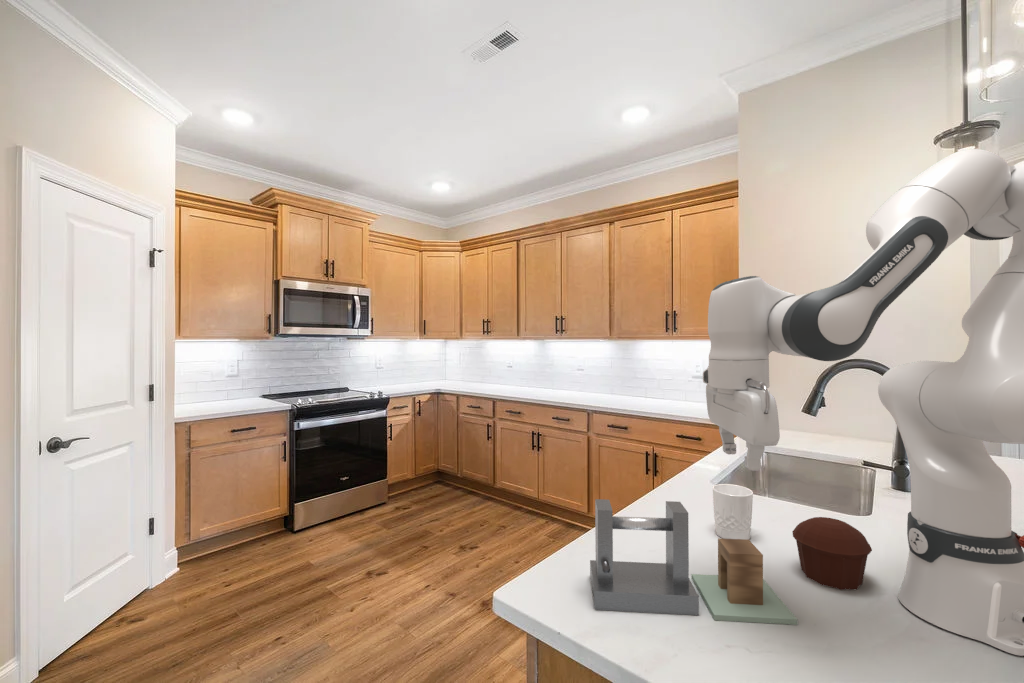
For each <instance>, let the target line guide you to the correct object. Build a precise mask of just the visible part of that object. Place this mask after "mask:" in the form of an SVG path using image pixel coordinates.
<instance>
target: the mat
mask: <svg viewBox="0 0 1024 683" xmlns="http://www.w3.org/2000/svg"><path fill="white" fill-rule="evenodd" d="M690 575H691V579H690V580H691V581H692V583H693V584H694V585H695V587H696V588H695V589H697V591H698V593H699V595H700V597H701V599H702V601H703V602H704V603H705V606H706V607H707V609H708V611H709V614H710V615H711V616H712V619H713V620H714V621H719V622H720V621H725V622H741V623H743V622H744V623H756V624H758V623H759V624H773V625H774V624H777V625H796V626H798V625H799V624H798V620H799V619H798V618H797V617H796V616H795V615H794V613H793V612H792V611H791V609H789V607H788V606H787V605H786V604H785V602H784V601H783V600H782V599H781V598H780V597H779V596H778V595H777V593H776V592H775V591H774V590H773V589H772V587H771V586H770V585H769V584H768V583H767V582H766V580H765V579H764V578H763V605H749V604H730V603H729V601H728V600H727V589H720V587H719V586H718V574H700V573H699V574H697V573H691V574H690Z"/></svg>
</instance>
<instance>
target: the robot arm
mask: <svg viewBox="0 0 1024 683" xmlns="http://www.w3.org/2000/svg"><path fill="white" fill-rule="evenodd" d="M865 226H866V227H865V236H866V240H867V242H868V244H869V246H870V247H871V248H872V250H873V251H872V252H871V253H870V254H869V255H868V256H867V257H865V259H864V260H863V261H861V262H860V263H859V264H858V265H857V266H856V267H855V268H854V269H853V270H852V271H851V272H850V273H849V274H847V276H846V277H845V278H844V279H842V280H841V281H840V282H837V283H835V284H833V285H831V286H829V287H825V288H820V289H819V290H815V291H812V292H808V293H803V294H795V293H792V292H788V291H785V290H783V289H781V288H778V287H776V286H774V285H771V283H768V282H766V281H765V280H764V279H763V278H762V277H761V276H757V275H749V276H744V277H739V278H735V279H730V280H728V281H727V280H726V281H724V282H721V283H719V284H718V285H716V286H715V287H714V288H713V289H711V292H710V295H709V300H708V307H707V308H708V309H707V312H708V313H707V334H708V337H709V341H710V349H709V353H708V366H707V368H706V369H705V370H703V372H702V382H703V383H704V384H706V386H705V397H706V398H705V399H706V408H707V409H706V410H707V416H708V419H709V420H710V422H711V423H713V424H714V425H715V426H718V432H719V434H720V438H721V442H722V452H723V453H724V454H727V455H736V454H737V443H736V442H735V437H738V438H740V439H742V440H743V441H745V447H746V448H747V451H746V456H744V466H745V468H747V469H748V470H750V471H760V470H761V468H762V465H761V464H762V462H761V459H762V457H763V455H764V452H765V449H766V448H765V447H775V446H777V445H778V444H779V441H780V438H781V437H780V423H779V413H778V405H777V400H776V398H775V397H774V395H773V394H772V393H771V392H770V390H768V389H769V388H770V356H769V355H770V354H771V352H774V353H778V354H781V355H786V356H788V355H789V356H794V357H795V356H796V357H804V358H810V359H813V360H816V361H821V362H835V361H841V360H844V359H847V358H849V357H851V356H852V355H854V354H855V353H857V352H858V351H859V350H860V349H861V348H862V347H863V346H864V345H865V344H866V343H867V341H868V339H869V337H870V336H871V333H872V332H873V330H874V328H875V325H876V323H877V322H878V321H879V319H880V318H881V316H882V314H883V313H884V311H885V310H887V308H888V307H889V306H891V304H892V303H893V302H894V301H896V299H897V298H898V297H900V295H901V294H903V293H904V292H905V291H906V290H907V289H908V288H909V287H910V286H911V285H912V284H913V283H914V282H915V281H916V280H917V279H918V278H919V277H920V276H921V275H923V273H924V272H926V271H927V269H929V267H931V265H932V264H933V263H935V261H936V260H937V259H938V258H939V257H940V255H941V254H942V253H943V252H944V251H945V250H946V249H948V248H949V247H950V246H952V245H953V243H955V242H956V241H957V240H958V239H960V238H961V237H962V236H963V235H964V236H966V237H968V238H970V239H972V240H978V241H1000V240H1001V241H1002V240H1006V239H1009V238H1011V237H1012V246H1011V249H1010V252H1009V254H1008V256H1007V258H1006V260H1005V261H1004V262H1003V263H1002V264H1001V265H1000V267H998V269H997V271H995V273H994V274H993V276H992V277H991V278H990V279H989V281H988V282H987V283H986V285H985V286H984V287H983V289H982V290H981V291H980V293H979V294H978V296H977V297H976V298H975V299H974V301H973V303H972V304H971V305H970V306H969V307H968V309H967V310H966V312H965V313H964V315H963V316H962V319H961V327H962V329H963V332H964V333H965V335H967V337H968V341H967V346H966V349H965V351H964V352H963V354H962V355H961V357H959V359H957V360H956V361H954V362H953V361H952V362H951V361H936V360H920V361H919V360H918V361H912V362H907V363H902V364H898V365H896V366H895V365H894V366H893V367H891V368H889V369H888V370H887V371H886V372H885V373H883V375H882V376H881V378H880V380H879V383H878V387H877V391H878V392H877V393H878V397H879V400H880V402H881V404H882V406H884V408H885V409H886V410H887V411H888V412H889V414H890V415H891V416H892V418H893V420H894V421H895V424H896V426H897V429H898V431H899V434H900V437H901V440H902V442H903V447H904V449H905V452H906V456H907V462H908V466H909V474H910V476H909V477H910V478H909V479H910V511H909V512H908V513H907V521H906V522H907V524H906V526H907V527H906V528H907V529H906V535H907V543H908V547H909V550H908V556H907V565H906V570H905V573H904V576H903V580H902V583H901V586H900V588H899V590H898V593H897V598H898V601H899V602H900V603H901V604H902V605H903V606H904V607H905V608H906V609H907V611H908V610H909V611H910V612H911V613H912V614H914V615H915V616H917V617H919V618H920V619H922V620H924V621H926V622H928V623H930V624H931V625H934V626H936V627H939V628H941V629H943V630H945V631H948V632H950V633H954V634H957V635H959V636H963V637H965V638H968V639H973V640H976V641H979V642H981V643H984V644H988V645H989V646H992V647H994V648H996V649H999V650H1000V651H1002V652H1003V651H1004V652H1006V653H1009V654H1012V655H1015V656H1022V657H1023V656H1024V550H1023V549H1024V535H1019V534H1018V533H1017V532H1016V531H1013V530H1012V483H1011V480H1010V478H1009V477H1008V475H1007V474H1006V472H1005V471H1004V470H1003V469H1002V468H1001V467H1000V466H999V465H997V463H996V462H995V461H994V460H993V458H992V457H991V455H990V454H989V452H988V450H987V448H986V446H985V443H984V442H988V443H993V444H994V443H995V444H1009V445H1010V444H1012V445H1024V160H1021V161H1019V162H1017V163H1015V164H1013V165H1009V163H1008V162H1007V161H1006V160H1005V159H1004V158H1003V157H1002V156H1000V154H997V153H995V152H993V151H991V150H986V149H982V148H981V149H980V148H969V149H968V148H967V149H963V150H958V151H956V152H953V153H951V154H949V155H947V156H946V157H943V158H941V160H939V161H937V162H935V163H933V164H932V165H931V166H928V167H927V168H926V169H924V170H923V171H922V172H920V173H919V174H917V175H916V176H914V177H913V178H912V179H910V180H909V181H908V182H907V183H905V184H904V185H903V186H901V187H900V188H899V189H898V190H897V191H896V192H894V193H893V194H892V195H890V197H889V198H887V200H886V201H884V202H883V203H882V204H881V205H880V206H879V208H878V209H877V210H876V211H875V212H874V214H872V216H870V218H869V220H868V221H867V222H866V225H865ZM734 436H735V437H734Z"/></svg>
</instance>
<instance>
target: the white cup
mask: <svg viewBox="0 0 1024 683" xmlns="http://www.w3.org/2000/svg"><path fill="white" fill-rule="evenodd" d="M753 498H754V491H753V490H751V489H750V488H748V487H746V486H742V485H738V484H732V483H719V484H715V485H713V486H712V499H713V500H712V503H713V514H714V515H713V517H714V526H715V531H714V532H715V534H716V535H717V536H718V537H719V538H720V539H746V540H749V541H750V539H751V530H752V529H751V527H752V520H753V519H752V517H753V502H754V501H753Z"/></svg>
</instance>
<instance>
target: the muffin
mask: <svg viewBox="0 0 1024 683" xmlns="http://www.w3.org/2000/svg"><path fill="white" fill-rule="evenodd" d="M792 537H793V538H794V539H795V542H796V546H797V552H798V557H799V563H800V568H801V571H802V572H803V573H804V575H805V577H806V578H808V579H810V580H812V581H813V582H816V583H818V584H819V585H820V586H824V587H825V586H826V587H830V588H833V589H837V590H840V591H843V590H844V591H845V590H854V589H856V590H858V589H859V587H860V586H861V585H863V582H864V578H865V577H864V576H865V571H866V568H867V566H866V565H867V560H868V556H869V555H871V552H872V551H873V548H872V547H871V545H870V544H869V542H868V540H867V538H866V536H865V535H864V534H863V533H862V532H861V531H860V530H858V529H857V528H855V527H854V526H852V525H851V524H849V523H847V522H845V521H843V520H840V519H836V518H833V517H826V516H825V517H824V516H817V517H816V516H815V517H810V518H808V519H805V520H803V521H801V522H799V523H797V525H796V526H795V528H794V529H793V530H792Z"/></svg>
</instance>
